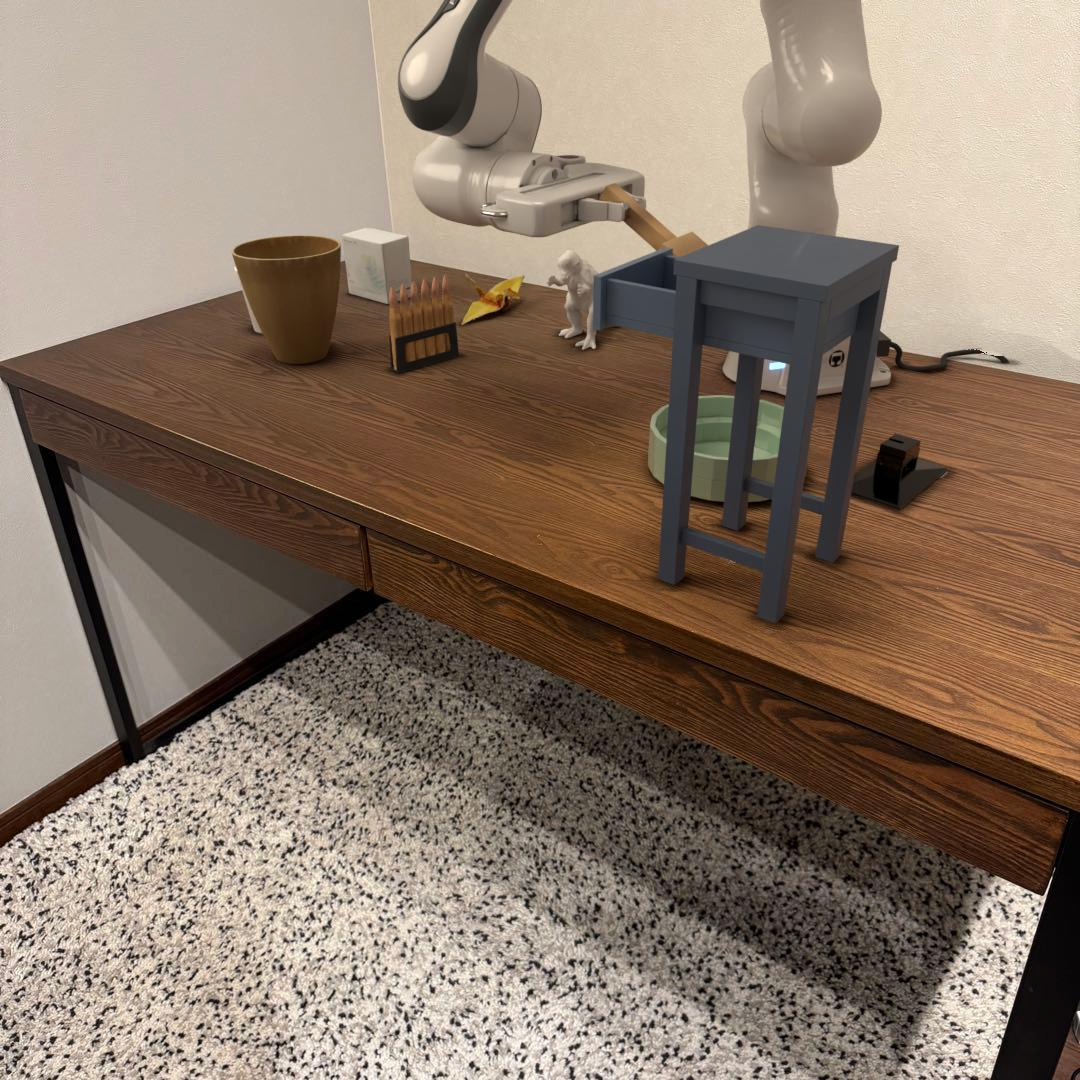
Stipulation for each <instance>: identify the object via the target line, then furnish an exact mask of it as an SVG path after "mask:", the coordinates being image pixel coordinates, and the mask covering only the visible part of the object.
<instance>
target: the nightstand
mask: <svg viewBox="0 0 1080 1080" xmlns="http://www.w3.org/2000/svg"><path fill="white" fill-rule="evenodd" d="M707 245H708V246H706V247H704V248H701V249H699V250H696V251H694V252H691V253H689V254H687V255H684V256H682V257H679V256H673V248H667V247H665V248H663V249H660V250H658V251H656V250H655V251H653V252H650V253H648V254H645V255H642V256H639V257H637V258H635V259H632V260H630V261H627V262H624V263H622V264H619V265H617V266H614V267H612V268H610V269H607V270H604V271H601V272H600V273H599V272H598V273H599V274H597V275H594V288H593V329H596V331H602V330H604V329H606V328H609V327H612V326H611V325H615V326H614V327H621V328H624V329H629V330H633V331H637V332H642V333H645V334H651V335H655V336H661V337H663V338H670V339H672V344H671V345H672V347H671V361H670V362H671V364H670V376H669V377H670V379H669V380H670V381H669V393H668V394H669V395H668V404H669V409H668V425H667V441H666V458H665V474H664V484H663V491H662V508H661V523H660V524H661V525H660V539H659V556H658V574H657V580H660V581H662V582H665V583H667V584H669V585H672V586H676V585H677V584H678V583H679V582H680V581H681V580H682V579H684V578H685V573H686V561H687V547H691V548H693V549H696V550H700V551H702V552H705V553H708V554H710V555H714V556H716V557H719V558H722V559H725V560H727V561H731V562H734V563H736V564H739V565H742V566H744V567H747V568H750V569H753V570H756V571H759V572H762V574H761V583H760V591H759V597H758V604H757V612H756V617H757V618H759V619H762V620H764V621H766V622H769V623H772V624H777V623H778V622H779V621H780V620H781V619H782V618H783V617H784V616H785V613H786V608H787V600H788V593H789V587H790V586H789V585H790V580H791V572H792V566H793V559H794V554H795V553H794V552H795V544H796V537H797V533H798V532H797V531H798V526H799V518H800V512H801V510H804V511H807V512H810V513H814V514H817V515H820V516H821V518H820V524H819V529H818V530H819V531H818V535H817V542H816V549H815V554H814V557H815V558H817V559H820V560H822V561H826V562H828V563H831V564H834V563H835V561H836V560H838V558H839V557H840V556H841V552H842V549H843V542H844V535H845V530H846V524H847V520H848V514H849V508H850V503H851V498H852V495H851V492H852V486H853V481H854V475H855V474H856V468H857V462H858V457H859V453H860V447H861V441H862V435H863V429H864V424H865V418H866V412H867V406H868V401H869V396H870V390H871V387H870V385H871V380H872V374H873V368H874V363H875V357H876V351H877V346H878V340H879V335H880V331H881V328H882V323H883V317H884V312H885V306H886V302H887V295H888V289H889V283H890V277H891V273H892V266H893V263H894V262H896V261H897V259H898V254H899V250H900V245H899V244H894V243H887V242H878V241H872V240H867V239H866V240H865V239H858V238H851V237H844V236H837V235H836V236H831V235H823V234H816V233H809V232H802V231H795V230H788V229H781V228H774V227H767V226H760V225H757V226H754V227H752V228H749V229H748V228H747V229H745V230H742V231H740V232H737V233H735V234H732V235H730V236H727V237H725V238H723V239H721V240H718V241H716V242H713V243H711V244H707ZM850 336H851V339H850V345H849V351H848V357H847V363H846V369H845V376H844V382H843V388H842V392H841V393H840V394H841V395H840V401H839V407H838V414H837V420H836V425H835V431H834V437H833V443H832V450H831V456H830V462H829V468H828V474H827V480H826V481H827V482H826V487H825V493H824V497H821V496H817V495H814V494H810V493H807V492H804V484H805V479H806V476H805V472H806V473H807V469H806V465H807V466H808V462H807V458H808V459H809V455H808V452H809V453H810V449H809V445H810V446H811V442H810V438H811V439H812V431H813V426H814V425H813V424H814V418H815V410H816V403H817V397H818V395H817V391H818V384H819V377H820V370H821V364H822V357H823V354H825V353H826V352H828V351H829V350H831V349H832V348H834V347H835V346H836V345H838V344H839V343H841V342H842V341H844V340H845V339H847V338H848V337H850ZM704 346H705V347H708V348H713V349H719V350H723V351H728V352H729V351H731V352H736V353H739V357H738V367H737V377H736V382H735V387H734V388H735V389H734V396H735V397H734V407H733V417H732V427H731V437H730V447H729V457H728V467H727V477H726V487H725V497H724V502H723V508H722V519H721V527H724V528H727V529H731V530H733V531H735V532H738V531H739V530H740V529H741V528H743V527H744V526H745V525H746V522H747V514H748V505H749V502H748V497H749V493H752V494H755V495H758V496H761V497H765V498H768V500H771V507H770V513H769V522H768V529H767V536H766V543H765V552H762V551H758V550H756V549H752V548H750V547H747V546H744V545H742V544H738V543H735V542H733V541H730V540H727V539H724V538H721V537H717V536H715V535H712V534H710V533H706V532H704V531H700V530H697V529H695V528H693V527H689V523H690V511H691V510H690V508H691V497H692V496H691V486H692V473H693V460H694V448H695V435H696V422H697V410H698V397H699V396H700V384H701V383H700V382H701V373H702V372H701V370H702V369H701V367H702V360H703V359H702V358H703V347H704ZM764 359H767V360H772V361H776V362H781V363H785V364H790V366H789V373H788V381H787V389H786V396H785V397H784V403H783V404H784V405H783V406H784V412H783V420H782V427H781V435H780V443H779V451H778V458H777V466H776V474H775V481H774V483H771V482H767V481H764V480H761V479H757V478H754V477H751V471H752V462H753V454H754V445H755V436H756V428H757V419H758V410H759V402H760V400H761V392H762V390H761V384H762V375H763V367H764Z"/></svg>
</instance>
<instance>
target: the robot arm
mask: <svg viewBox="0 0 1080 1080" xmlns="http://www.w3.org/2000/svg"><path fill="white" fill-rule="evenodd" d="M513 1H514V0H443V2H441V5H440V6H439V7H438V9H437V11H436V12H435V14H434V15H433V16H432V18H431V19H430V20H429V22H428V23H427V24H426V26H425V27H423V29H422V30H421V31H420V32H419V34H417V36H416V37H415V38H414V40H413V41H412V42H411V43H410V44H409V46H408V47H407V48H406V50H405V52H404V54H403V55H402V58H401V61H400V64H399V68H398V74H397V75H398V76H397V89H398V95H399V96H398V97H399V99H400V103H401V106H402V109H403V112H404V114H405V116H406V118H407V119H408V121H409V122H410V123H411V124H412V125H413V126H414V127H415V128H417V129H420V130H421V131H425V132H427V133H432V134H435V135H437V137H436V139H435V140H434V141H432V143H430V144H429V145H427V146H426V147H425V148H423V149H422V150H421V151H420V152H419V153H418V154H417V155H416V157H415V158H414V162H413V165H412V170H411V171H412V173H411V175H412V176H411V177H412V184H413V189H414V192H415V194H416V196H417V198H418V200H419V201H420V203H421V205H423V207H424V208H425V209H427V210H428V212H430V213H432V214H433V215H435V216H436V217H439V218H441V219H444V220H446V221H450V222H453V223H458V224H461V225H465V226H466V225H467V226H471V227H476V228H477V227H478V228H481V227H482V228H483V227H487V226H491V227H493V228H494V229H496V230H499V231H501V232H504V233H505V232H506V233H509V234H510V233H511V234H516V235H520V236H524V237H529V238H547V237H550V236H553V235H556V234H560V233H563V232H566V231H569V230H571V229H575V228H578V227H581V226H585V225H587V224H590V223H593V222H614V223H621V222H624V220H626V219H628V218H629V210H630V206H629V204H628V203H627V202H621V201H613V202H608V201H600V200H599V199H600V197H601V195H602V193H603V191H604V189H605V187H606V186H607V185H610V184H614V183H616V184H617V185H618V186H619V187H621V188H622V189H623V190H624V191H625V192H626V193H627V194H629V195H630V196H631V197H632V198H633V199H634V200H635V201H637V202H638V203H639V204H640V205H641V206H642V207H643V208H645V209H646V210H647V199H646V197H645V191H646V190H645V188H646V187H645V186H646V178H645V175H644V174H643V173H641V172H639V171H637V170H634V169H630V168H625V167H620V166H616V165H610V164H605V163H599V162H587V158H586V156H584V155H578V154H563V155H554V154H549V153H539V152H533V149H534V147H535V143H536V140H537V137H538V133H539V130H540V126H541V125H540V124H541V122H542V113H543V104H542V98H541V95H540V91H539V89H538V87H537V85H536V84H535V82H534V81H533V80H532V79H531V78H530V77H529V76H526V74H524V73H522V72H520V71H519V70H517V69H515V68H514V67H512V66H510V65H509V64H507V63H505V62H503V61H502V60H500V59H497V58H495V57H494V56H492V55H491V54H488V53H487V52H486V47H487V44H488V41H489V40H490V38H491V36H492V35H493V33H494V31H495V30H496V28H497V27H498V25H499V23H500V22H501V20H502V18H503V17H504V15H505V14H506V12H507V11H508V9H509V7H510V6H511V4H512V2H513ZM759 7H760V12H761V16H762V19H763V21H764V25H765V28H766V33H767V38H768V43H769V50H770V57H771V61H770V62H768V63H767V64H765V65H763V66H762V67H760V68H759V69H758V70H757V71H756V72H755V73H754V74H753V75H752V77H751V78H750V79H749V81H748V83H747V84H746V87H745V89H744V92H743V95H742V102H741V103H742V105H741V106H742V115H743V119H744V122H745V123H744V124H745V129H746V155H747V158H746V160H747V174H748V175H747V177H748V189H749V190H748V191H749V212H748V213H749V214H748V215H749V216H748V225H747V226H748V227H747V229H749V228H752V227H754V226H757V225H760V226H767V227H774V228H781V229H788V230H795V231H802V232H809V233H816V234H823V235H831V236H837V231H838V224H839V217H840V214H839V213H840V210H839V203H838V199H837V197H836V192H835V186H834V176H833V175H834V173H833V167H839V166H843V165H846V164H849V163H851V162H853V161H855V160H856V159H858V158H860V157H861V156H862V155H863V154H864V153H865V152H866V151H867V150H868V149H869V148H870V147H871V145H872V144H873V142H874V141H875V139H876V138H877V135H878V132H879V130H880V127H881V123H882V117H883V116H882V115H883V110H882V109H883V107H882V102H881V99H880V95H879V93H878V91H877V89H876V86H875V84H874V82H873V78H872V73H871V68H870V61H869V53H868V46H867V38H866V32H865V25H864V16H863V7H862V0H759ZM850 339H851V336H850V337H848V338H847V339H845V340H844V341H842V342H841V343H839V344H838V345H836V346H835V347H834V348H832V349H831V350H829V351H828V352H826V353H825V354H823V357H822V364H821V370H820V377H819V384H818V391H817V396H823V395H829V394H830V395H831V394H836V393H842V388H843V382H844V376H845V369H846V363H847V357H848V351H849V345H850ZM891 348H892V349H893V350H894V351H895V353H896V354H895V358H894V364H896V366H897V367H898V368H899V369H901V370H907V371H912V372H915V373H916V372H918V373H926V372H927V373H928V372H936V371H941V370H943V369H944V368H946V366H947V364H948V363H947V361H948V360H947V359H948V358H949V359H950V358H955V357H960V356H961V357H962V356H968V355H982V354H981V353H984V352H982V351H980V350H977V349H978V348H967V349H968V350H966V349H960V350H953V351H947V352H945V353H943V354H942V355H941V357H940V363H938V364H932V365H924V366H913V365H909V364H906V363H904V362H903V361H902V356H903V349H902V347H901V346H900V345H899V344H898V343H896V342H894V341H892V339H891V338H890V337H889V336H887V335H886V334H885V333H884V332H883V331H881V330H880V335H879V340H878V346H877V351H876V357H875V363H874V368H873V374H872V380H871V385H870V388H877V387H882V386H883V387H884V386H888V385H890V383H891V380H892V371H891V370H890V368H889V367H888V365H887V364H886V363H885V362H884V361H883V360H882V359H880V358H884V357H885V358H886V357H889V355H890V350H891ZM970 349H971V350H970ZM974 349H976V350H974ZM986 353H987V352H986ZM983 355H986V356H988V355H987V354H985V353H984V354H983ZM989 356H990V357H994V358H995V359H997V360H999V361H1000V362H1001V363H1002V364H1008V365H1009V364H1010V361H1009V360H1008V358H1007V357H1005V355H1003V356H994V355H989ZM738 357H739V353H736V352H731V351H728V353H727V356H726V359H725V360H724V363H723V365H722V372H723V374H724V375H725V376H726V378H728V379H729V380H731V381H733V382H735V383H736V377H737V367H738ZM789 366H790V364H785V363H781V362H776V361H772V360H767V359H764V367H763V375H762V384H761V391H768V392H774V393H776V394H779V395H782V396H785V397H786V389H787V381H788V373H789Z"/></svg>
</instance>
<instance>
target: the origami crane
mask: <svg viewBox="0 0 1080 1080" xmlns="http://www.w3.org/2000/svg"><path fill="white" fill-rule="evenodd" d="M464 277H465V280H466V281H467V282H468V283H469V285H470V288H471V289H472V291H473V292H474V293H475V294H477V296H478V297H479V298H480V299H479V300H477V301H473V302H472V303H471V304H470V306H469V308H468V310H467V312H466V313H465V315H464V316H463V319H462V322H461V325H465V324H467V323H468V322H470V321H474V320H476V318H480V317H483V316H484V315H488V314H489V313H493V312H497V311H499V310H501V309H502V308H503V309H502V310H501V313H505V312H507V311H508V309H509V308H510V306H511V303H512V301H514V302H518V301H520V300H521V298H522V296H521V294H519V290H520V288H521V286H522V285H523V281H524V280H525V277H526V275H524V274H523V275H519V276H515V277H512V278H508V279H505V280H503V281H500V282H499V283H496V284H495V285H494V286H493V287H491V288H490V289H489V291H488V292H485V291H484V290H483V288H482V287H481V286H479V285H478V283H476V282H477V281H475V280H474V279H475V277H474V276H472V277H473V279H472V278H471V277H470V275H469V274H468V273H467V272H465V273H464Z"/></svg>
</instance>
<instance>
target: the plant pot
mask: <svg viewBox="0 0 1080 1080" xmlns="http://www.w3.org/2000/svg"><path fill="white" fill-rule="evenodd" d="M230 253H231V255H232V258H233V262H234V265H235V266H236V268H237V271H238V274H239V277H240V280H241V283H242V286H243V289H244V292H245V294H246V297H247V300H248V302H249V305H250V307H251V309H252V312H253V314H254V316H255V318H256V321H257V323H258V325H259V327H260V329H261V331H262V333H261V334H262V335H263V337H264V339H265V341H266V343H267V344H268V347H269V349H270V350H271V352H272V354H273V356H274V358H276V360H277V361H278V362H280V363H283V364H289V365H303V364H304V365H305V364H310V363H311V364H312V363H316V362H318V361H322V360H323V359H325V358H326V357H327V356H328V352H329V349H330V345H331V341H332V337H333V336H332V335H333V332H334V328H335V327H334V326H335V322H336V317H337V308H338V301H339V295H340V281H341V264H342V263H341V262H342V260H341V258H342V244H341V241H339V240H337V239H335V238H332V237H327V236H321V235H305V234H301V235H295V234H294V235H293V234H292V235H279V236H271V237H270V236H269V237H263V238H257V239H252V240H249V241H245V242H242V243H240V244H237V245H236V246H235V245H234V247H233V248H232V249H231V252H230Z"/></svg>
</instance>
